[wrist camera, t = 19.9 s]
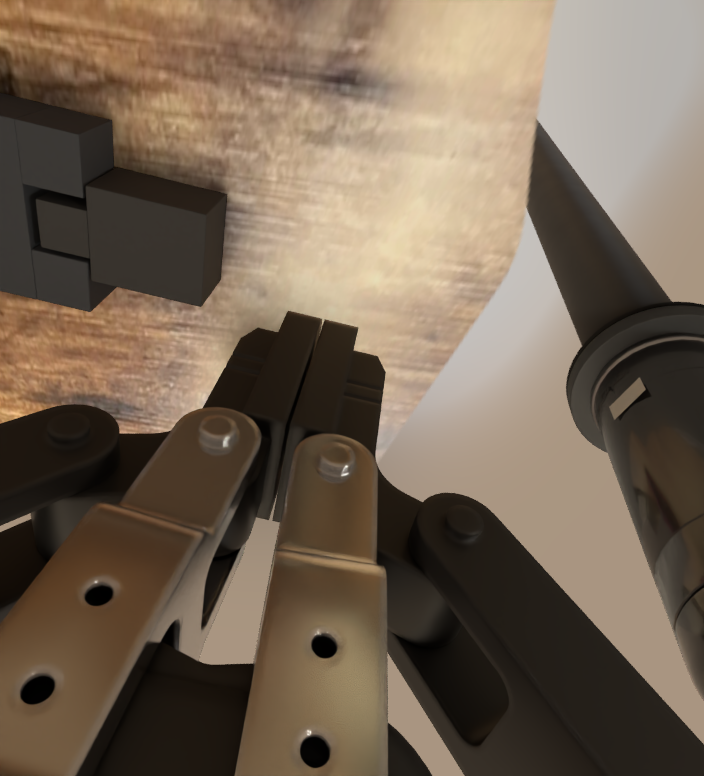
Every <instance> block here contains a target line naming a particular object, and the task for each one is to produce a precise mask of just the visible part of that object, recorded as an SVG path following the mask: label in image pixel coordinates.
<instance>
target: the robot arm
mask: <svg viewBox="0 0 704 776" xmlns="http://www.w3.org/2000/svg"><path fill="white" fill-rule="evenodd" d="M321 325H322V319H320V318H316V317H312V316H308V315H304V314H300V313H296V312H291V311H288V312H287V314H286V316H285V318H284V320H283V323H282V325H281V327H280V329H279V331H278V332H274V331H270V330H265V329H261V328H257V329H255V330H253V331H252V332H250V333H248V334H247V335H245V336H243V337H242V338H241V339H240V341H239V343H238V344H237V346H236V348H235V350H234V352H233V355H231V357H230V359H229V361H228V363H227V365H226V368H224V370H223V372H222V374H221V376H220V377H219V379H218V381H217V383H216V385H215V386H214V388H213V390H212V392H211V394H210V396H209V397H208V399H207V401H206V403H205V405H204V407H203V408H202V409H198V410H195V411H192V412H190V413H188V414H186V415H185V416H183V417H182V418H181V419H180V420H179V421H178V422H177V423H176V425H175V426H174V427H173V429H172V430H171V431H168V432H163V433H153V434H119V426H118V423H117V422H116V420H115V419H114V418H113V417H112V416H111V415H110V414H109V413H107V412H105V411H104V410H101V409H99V408H96V407H92V406H87V405H76V404H73V405H62V406H56V407H52V408H49V409H45V410H42V411H39V412H36V413H33V414H30V415H26V416H23V417H20V418H17V419H14V420H11V421H8V422H4V423H1V424H0V526H1V525H3V524H5V523H8V522H10V521H13V520H15V519H17V518H20V517H22V516H24V515H27V514H29V513H31V519H30V520H28V521H26V522H23V523H21V524H18V525H16V526H14V527H11V528H9V529H7V530H4V531H2V532H0V776H432V775H431V773H430V771H429V770H428V768H427V766H426V765H425V763H424V762H423V761H422V759H421V758H420V756H419V755H418V754H417V752H416V751H415V749H414V748H413V747H412V746H411V745H410V744H409V743H408V742H407V740H406V739H405V738H404V737H403V736H402V735H401V734H400V733H399V732H398V731H397V730H396V729H395V728H394V727H392V726H391V725H390V724H389V723H388V689H387V688H388V687H387V686H388V685H387V652H388V654H389V655H390V657H391V658H392V660H393V662H394V663H395V664H396V666H397V668H398V669H399V671H400V673H401V674H402V676H403V677H404V679H405V681H406V682H407V684H408V686H409V687H410V688H411V690H412V692H413V694H414V695H415V697H416V698H417V700H418V701H419V703H420V705H421V706H422V708H423V710H424V711H425V713H426V714H427V716H428V718H429V719H430V721H431V722H432V724H433V726H434V727H435V729H436V730H437V732H438V734H439V735H440V737H441V738H442V740H443V741H444V743H445V745H446V746H447V748H448V750H449V751H450V753H451V754H452V756H453V758H454V759H455V761H456V762H457V764H458V766H459V767H460V769H461V770H462V772H463V774H464V775H465V776H704V744H703V743H702V742H701V741H700V740H699V739H698V738H697V737H696V735H695V734H694V733H693V732H692V731H691V730H690V729H689V728H688V727H687V725H685V723H684V722H683V721H682V720H681V719H680V718H679V717H678V716H677V714H676V713H675V712H674V711H673V710H672V709H671V708H670V707H669V706H668V705H667V704H666V702H664V700H662V698H661V697H660V696H659V695H658V694H657V693H656V692H655V690H654V689H653V688H652V687H651V686H650V685H649V684H648V683H647V682H646V681H645V679H644V678H643V677H642V676H641V675H640V674H639V673H638V672H637V671H636V669H635V668H634V667H633V666H632V665H631V664H630V663H629V662H628V661H627V660H626V658H625V657H624V656H623V655H622V654H621V653H620V652H619V651H618V650H617V649H616V648H615V646H614V645H613V644H612V643H611V642H610V641H609V640H608V639H607V638H606V637H605V636H604V635H603V633H602V632H601V631H600V630H599V629H598V628H597V627H596V626H595V625H594V623H593V622H592V621H591V620H590V619H589V618H588V617H587V616H586V615H585V613H584V612H583V611H582V610H581V609H580V608H579V607H578V606H577V605H576V604H575V603H574V601H573V600H572V599H571V598H570V597H569V596H568V595H567V594H566V593H565V592H564V590H563V589H562V588H561V587H560V586H559V585H558V584H557V583H556V582H555V581H554V579H553V578H552V577H551V576H550V575H549V574H548V573H547V572H546V571H545V570H544V569H543V567H542V566H541V565H540V564H539V563H538V562H537V561H536V560H535V559H534V557H533V556H532V555H531V554H530V553H529V552H528V551H527V550H526V549H525V548H524V546H523V545H521V543H520V542H519V541H518V540H517V539H516V538H515V537H514V535H513V534H512V533H511V532H510V531H509V530H508V529H507V528H506V527H505V526H504V525H503V524H502V522H501V521H500V520H499V519H498V518H497V517H496V516H495V515H494V514H493V513H492V512H491V511H490V510H489V509H488V508H487V507H485V506H484V505H483V504H481V503H479V502H478V501H476V500H474V499H472V498H470V497H467V496H464V495H460V494H455V493H440V494H436V495H433V496H431V497H429V498H427V499H426V500H425V501H424V502H421V501H419V500H417V499H415V498H413V497H411V496H409V495H407V494H405V493H403V492H402V491H400V490H398V489H397V488H396V487H394V486H393V485H392V484H391V483H390V482H389V481H387V480H386V478H385V477H384V476H383V475H382V473H381V472H380V470H379V468H378V466H377V463H376V458H375V451H376V443H377V436H378V428H379V420H380V412H381V403H382V397H383V388H384V381H385V373H386V372H385V370H384V368H383V366H382V364H381V362H380V360H379V358H378V356H374V355H370V354H366V353H362V352H358V351H353V350H354V345H355V341H356V336H357V332H358V327H354V326H350V325H346V324H342V323H338V322H333V321H329V320H325V321H324V323H323V326H322V329H321ZM320 330H321V332H320ZM319 335H320V336H319ZM590 406H591V412H592V415H593V418H594V421H595V423H596V425H597V427H598V429H599V430H600V433H601V435H602V438H603V441H604V443H605V446H606V450H607V452H608V455H609V457H610V461H611V463H612V466H613V469H614V472H615V474H616V477H617V480H618V482H619V485H620V488H621V491H622V493H623V496H624V499H625V502H626V504H627V507H628V510H629V512H630V515H631V518H632V521H633V523H634V526H635V529H636V532H637V534H638V537H639V540H640V542H641V545H642V548H643V551H644V554H645V556H646V559H647V562H648V564H649V567H650V570H651V573H652V575H653V578H654V581H655V584H656V586H657V589H658V591H659V594H660V597H661V599H662V602H663V605H664V608H665V610H666V613H667V616H668V619H669V621H670V624H671V626H672V629H673V632H674V635H675V637H676V640H677V643H678V646H679V648H680V651H681V654H682V657H683V659H684V662H685V665H686V667H687V670H688V672H689V675H690V677H691V679H692V682H693V684H694V686H695V688H696V689H697V691H698V693H699V695H700V696H701V698H702V699H703V700H704V336H703V335H698V334H691V333H672V334H665V335H660V336H656V337H652V338H649V339H646V340H643V341H641V342H638V343H636V344H634V345H632V346H630V347H629V348H627V349H625V350H624V351H622V352H621V353H619V354H618V355H617V356H615V357H614V358H613V359H612V360H611V361H610V362H609V363H608V364H607V365H606V366H605V367H604V368H603V370H602V371H601V372H600V374H599V376H598V377H597V379H596V381H595V383H594V386H593V388H592V392H591V398H590ZM277 492H278V493H277ZM276 495H277V499H276V504H275V510H274V515H273V521H276V522H280V526H279V530H278V535H277V540H276V545H275V550H274V555H273V560H272V565H271V571H270V576H269V581H268V587H267V592H266V598H265V602H264V608H263V614H262V619H261V624H260V629H259V635H258V640H257V645H256V651H255V656H254V661H253V664H225V665H209V664H204V663H202V662H199V658H200V655H201V652H202V649H203V646H204V643H205V641H206V638H207V636H208V634H209V631H210V629H211V627H212V624H213V622H214V620H215V618H216V615H217V613H218V611H219V608H220V606H221V604H222V602H223V599H224V597H225V595H226V592H227V590H228V588H229V586H230V583H231V581H232V578H233V576H234V574H235V572H236V570H237V567H238V565H239V563H240V560H241V558H242V556H243V553H244V550H245V543H246V541H247V540H248V538H249V536H250V533H251V531H252V528H253V524H254V521H255V518H256V517H258V518H262V519H267V520H269V518H270V514H271V511H272V508H273V505H274V501H275V498H276Z"/></svg>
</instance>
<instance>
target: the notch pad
mask: <svg viewBox="0 0 704 776" xmlns="http://www.w3.org/2000/svg"><path fill="white" fill-rule="evenodd" d="M113 169H114V160H113V131H112V120H109V119H105V118H101V117H97V116H92V115H88V114H84V113H80V112H76V111H72V110H68V109H64V108H60V107H56V106H52V105H48V104H44V103H40V102H36V101H32V100H27V99H23V98H19V97H15V96H11V95H7V94H3V93H0V291H3V292H8V293H12V294H16V295H20V296H24V297H28V298H33V299H38V300H42V301H46V302H50V303H54V304H59V305H63V306H67V307H71V308H75V309H79V310H84V311H88V312H91V311H92V310H93V309H94V308H95V307H96V306H97V305H98V304H99V303H100V302H101V301H102V300H103V299H105V298H106V297H107V296H108V295H109V294H110V293H111V292H112V291H113V290H114V289H115V288H116V286H112V285H107V284H103V283H99V282H95V281H92V280H91V264H90V258H85V257H81V256H77V255H73V254H68V253H64V252H60V251H56V250H52V249H48V248H43V247H41V241H40V233H39V224H38V215H37V207H36V198H38V197H40V196H42V195H44V194H46V193H47V192H49V191H55V192H59V193H63V194H67V195H72V196H76V197H80V198H84V197H86V185H87V184H89V183H91V182H93V181H94V180H96V179H98V178H99V177H101V176H103V175H105V174H106V173H108V172H110V171H111V170H113Z"/></svg>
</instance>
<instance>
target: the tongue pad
mask: <svg viewBox="0 0 704 776" xmlns="http://www.w3.org/2000/svg"><path fill="white" fill-rule="evenodd" d="M226 202H227V194H224V193H220V192H216V191H212V190H208V189H204V188H199V187H195V186H191V185H187V184H183V183H179V182H175V181H171V180H167V179H163V178H158V177H154V176H150V175H146V174H142V173H138V172H134V171H130V170H126V169H121V168H115V169H113V170H111V171H110V172H108V173H106V174H105V175H103V176H101V177H99V178H98V179H96V180H94V181H93V182H91V183H89V184H87V185H86V197H84V198H80V197H76V196H72V195H67V194H63V193H59V192H55V191H49V192H47V193H46V194H44V195H42V196H40V197H38V198H36V207H37V215H38V224H39V233H40V241H41V247H43V248H48V249H52V250H56V251H60V252H64V253H68V254H73V255H77V256H81V257H85V258H90V264H91V280H92V281H95V282H99V283H103V284H107V285H112V286H116V287H120V288H124V289H128V290H133V291H137V292H141V293H145V294H149V295H153V296H158V297H162V298H166V299H170V300H174V301H179V302H183V303H187V304H191V305H195V306H200V307H201V306H202V305H203V304H204V302H205V301H206V299H207V298H208V297H209V295H210V294H211V293H212V291H213V290H214V288H215V287H216V286H217V284H218V283H219V281H220V279H221V266H222V253H223V240H224V227H225V214H226Z"/></svg>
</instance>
